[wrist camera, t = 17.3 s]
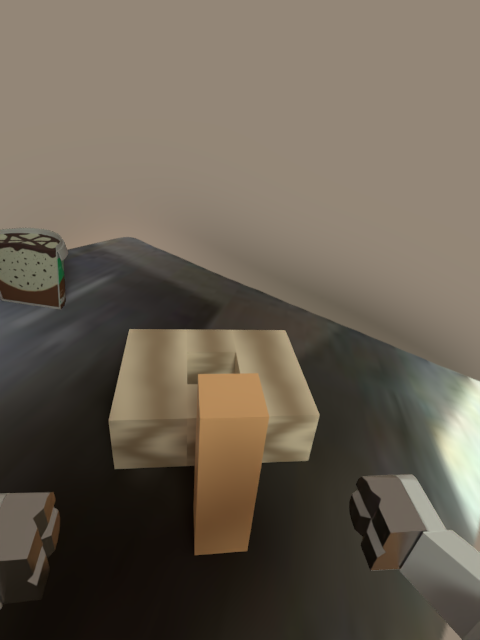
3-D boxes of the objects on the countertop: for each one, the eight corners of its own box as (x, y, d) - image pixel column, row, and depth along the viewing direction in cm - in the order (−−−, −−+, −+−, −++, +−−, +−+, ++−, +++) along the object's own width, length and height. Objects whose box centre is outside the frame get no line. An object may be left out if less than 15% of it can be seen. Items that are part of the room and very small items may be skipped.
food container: (89, 292, 63) (82, 232, 58) (70, 310, 58) (59, 246, 53) (18, 282, 64) (4, 222, 59) (-8, 299, 59) (-26, 235, 54)
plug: (194, 555, 29) (200, 418, 22) (193, 506, 32) (198, 374, 25) (247, 551, 30) (269, 416, 23) (240, 503, 33) (258, 373, 26)
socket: (114, 469, 35) (108, 420, 32) (132, 371, 47) (129, 329, 44) (307, 460, 37) (319, 414, 34) (278, 370, 49) (285, 330, 46)
